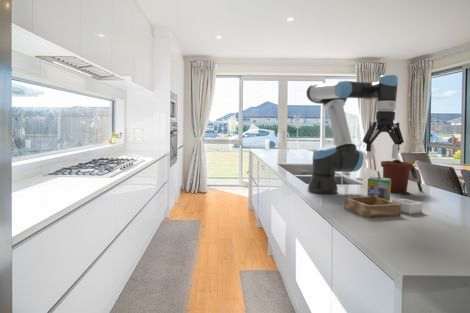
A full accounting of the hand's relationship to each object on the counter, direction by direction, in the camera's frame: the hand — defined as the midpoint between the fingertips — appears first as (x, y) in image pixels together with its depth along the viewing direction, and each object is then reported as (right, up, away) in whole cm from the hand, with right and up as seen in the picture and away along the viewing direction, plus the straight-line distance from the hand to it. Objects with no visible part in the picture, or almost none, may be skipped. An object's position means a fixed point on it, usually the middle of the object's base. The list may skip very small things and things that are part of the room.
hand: (382, 158), depth 143 cm
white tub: (+5, -22, -11) cm, 25 cm away
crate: (-11, -21, -13) cm, 27 cm away
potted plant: (+25, -18, +32) cm, 45 cm away
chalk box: (-1, -21, +2) cm, 21 cm away
